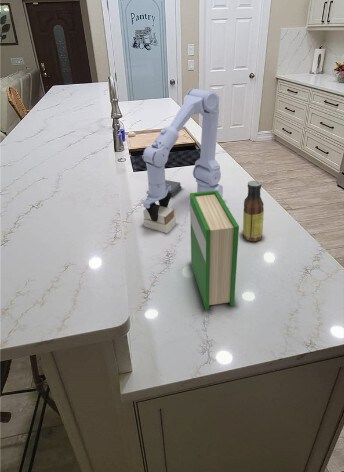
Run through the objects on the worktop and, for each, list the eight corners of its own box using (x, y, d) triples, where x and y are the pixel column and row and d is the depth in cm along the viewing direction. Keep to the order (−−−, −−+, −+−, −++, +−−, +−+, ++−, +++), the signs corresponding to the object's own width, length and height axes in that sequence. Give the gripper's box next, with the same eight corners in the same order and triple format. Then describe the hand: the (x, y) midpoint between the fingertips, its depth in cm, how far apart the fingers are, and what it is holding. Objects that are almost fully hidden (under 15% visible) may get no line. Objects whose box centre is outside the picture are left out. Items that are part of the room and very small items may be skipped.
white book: (174, 216, 115) (173, 209, 114) (166, 224, 111) (165, 216, 110) (152, 210, 120) (152, 203, 118) (143, 218, 115) (143, 210, 114)
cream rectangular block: (176, 224, 117) (176, 217, 115) (167, 233, 112) (166, 226, 111) (153, 218, 121) (152, 211, 120) (143, 226, 117) (142, 219, 115)
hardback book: (234, 305, 83) (238, 226, 72) (205, 309, 82) (206, 230, 71) (215, 261, 99) (217, 190, 87) (191, 264, 98) (189, 193, 87)
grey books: (182, 189, 141) (181, 182, 140) (172, 197, 135) (171, 191, 134) (160, 184, 147) (159, 178, 145) (149, 192, 140) (148, 185, 139)
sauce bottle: (263, 233, 110) (269, 180, 101) (259, 244, 105) (265, 189, 96) (244, 229, 112) (248, 177, 103) (239, 239, 107) (243, 185, 98)
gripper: (158, 171, 116) (160, 204, 122) (134, 188, 105) (137, 223, 111) (175, 174, 113) (176, 208, 119) (152, 192, 102) (155, 228, 108)
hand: (159, 216), depth 115 cm, fingers closed on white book, 5 cm apart
